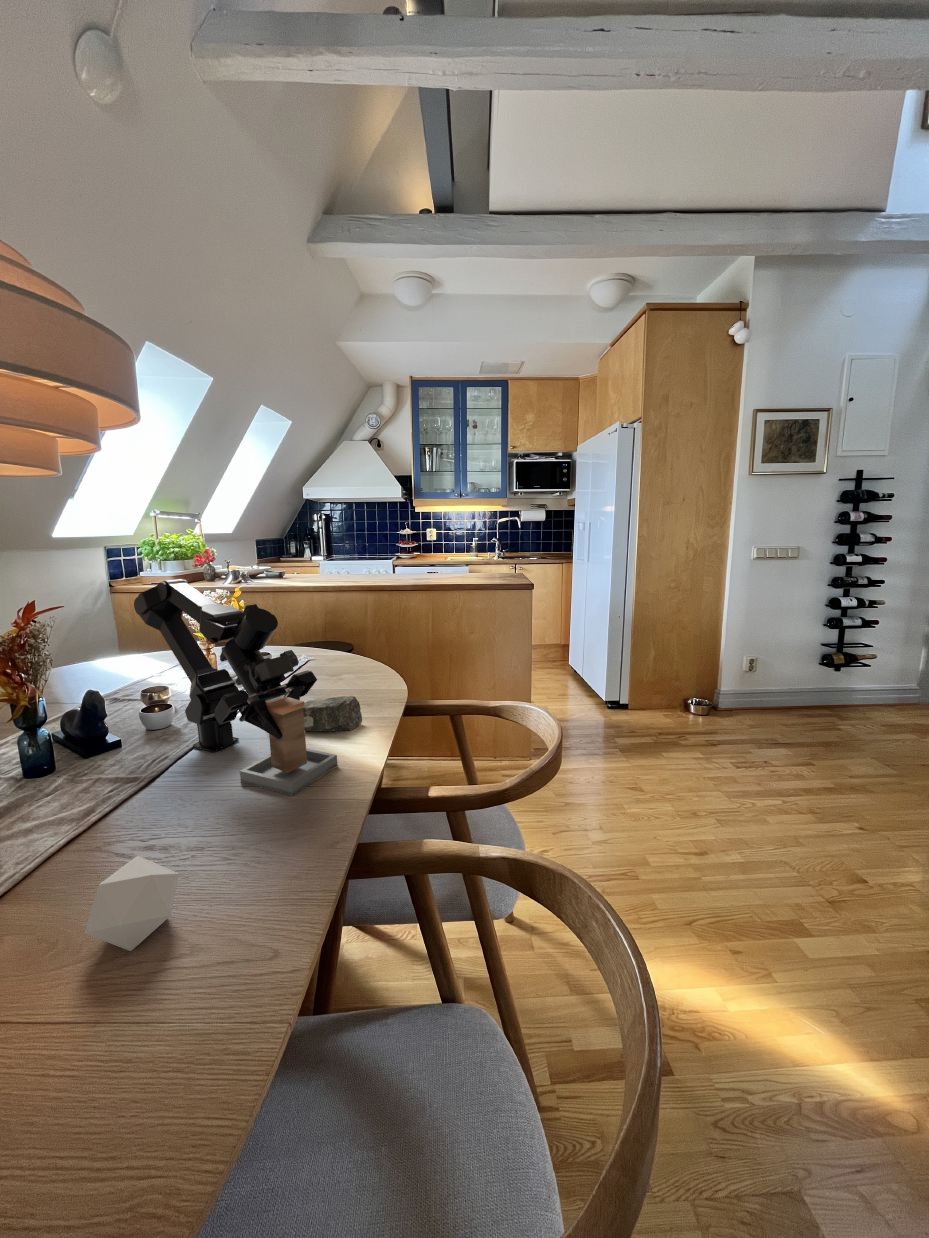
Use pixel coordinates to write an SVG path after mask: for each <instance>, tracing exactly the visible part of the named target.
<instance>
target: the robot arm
mask: <svg viewBox="0 0 929 1238" xmlns="http://www.w3.org/2000/svg"><path fill="white" fill-rule="evenodd" d="M133 607H134V611H135V613H136V614H137V615H138V616H139V617H140V618H141V620H142V621H143V622H144V624H145V625H147V626H148V627H150V628H153V629H155V630H158V631H159V632H160V634H161V636H162V637H163V639H164V640H165V642H166V643H167V645H168V647H169V648H170V650H171V652H172V654H173V655H174V657H175V658H176V660H177V661H178V663H179V665H180V667H181V668H182V669H183V672H184V673H185V675H186V676H187V678H188V680H189V681H190V688H189V698H190V701H189V702H188V704H187V706H186V708H185V709H184V713H185V717H186V720H187V721H188V722H190V723H193V724H196V727H197V735H198V742H196V743H194V744H192V748H194V749H198V750H203V751H207V752H210V753H211V752H212V753H215V752H218V751H219V750H222V749H224V748H226V747H228V746H230V745H232V744H234V743H237V742H239V740H240V739H239V737H235V736H234V735H233V734H234V733H233V726H232V725H233V724H232V722H233V721H235V720H236V719H237V716H238V712H239V713H240V718H239V719H238V721H239V722H241V723H242V722H247V723H248V724H251V725H253V726H255V727H257V728H259V729H260V730H262V731H264V732H266V733H267V734H268V735H269V734H271V735H272V736H274V737H276V738H277V739H280V738H281V737H282V733H281V731H280V729H279V727H278V726H277V724H276V723H275V721H274V719H273V718H272V716H271V715H270V713H269V711H268V710H267V706H266V701H267V700H270V699H273V698H276V697H280V698H281V699H282V698H285V697H290V698H293V699H297V700H301V697H304V696H306V695H307V694H308V693H309V691H310V690H311V689H312V688H313V687H314V685H315V684H316V682H317V681H318V678H317V676H316V675H315V674H314V673H313V671H311V670H304V671H301V672H298V673H294V674H292V676H291V677H290V679H288V681H287V683H282V684H283V685H281V684H280V683H281V682H284V680H285V679H286V676H285V675H287V674H289V673H292V672H294V671H295V670H294V668H296V667H297V666H298V665H299V663H300V662H299V660H298V656H297V655H296V653H295V652H294V651H293V650H292V649H289V650H285V651H283V652H282V653H279V656H277V657H274V658H270V657H266V658H265V657H264V656H263V654H262V652H261V651H260V650H262V649H264V648H265V647H266V645H267V644H268V643H269V641H270V639H271V637H272V636H273V634H274V633H275V631H276V630H277V628H278V626H279V625H278V624H279V622H278V621H279V620H278V619H277V617H276V616H275V614H273V613H272V612H270V611H269V610H266V609H264V608H260V607H259V606H258V605H257V604H256V603H253V604H246V605H245V607H244V609H243V611H242V610H240V609H238V608H236V607H234V606H231V605H224V604H219V603H216V602H215V601H213V600H211V599H210V598H209V597H207V596H206V595H205V594H203V593H202V592H200V591H199V590H197V589H196V588H194V587H193V586H191V585H190V583H189V581H188V580H187V579H183V578H176V579H167V580H163V581H160V582H159V583H157V584H156V585H155V586H153V587H151V588H149V589H146V590H144V591H142V592H140V593H139V594H138V596H137V597H136V598H135V599H134V600H133ZM183 613H184V614H186V615H188V616H189V617H190V618H191V619H193V620H194V621H195V622H197V624H199V628H198V629H199V630H198V631H199V633H201V635H202V636H203V637H204V638H205V639H206V640H207V641H208V642H209V643H212V644H216V643H222V642H226V641H227V642H226V643H225V645H224V646H222V647H221V652H220V655H219V661H220V662H223V663H224V662H226V661H227V663H228V664H229V665H230V668H231V669H232V670H233V672H234V674H235V675H236V677H237V678H236V679H235V680H233V678H232V677H231V675H230V672H229V671H228V670H227V669H226V668H222V669H219V670H217V669H216V668H214V667H213V665H212V664H211V662H210V660H209V659H208V658H207V656H206V654H205V653H204V652H203V650H202V648H201V647H200V645H199V643H198V642H197V640H196V639H195V637H194V635H193V634H192V632H191V630H190V629H189V628H188V626H187V624H186V623H185V621H184V620H183ZM238 686H242V687H243V688H244V690H242V689H240V690H239V688H238Z"/></svg>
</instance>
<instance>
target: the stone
mask: <svg viewBox="0 0 929 1238" xmlns="http://www.w3.org/2000/svg"><path fill="white" fill-rule="evenodd" d="M304 705H305V707H303V713H304V727H305V732H332V731H351V730H353V729H355V728H357V727H359V726H360V725H361V724H362V722H363V716H362V715H363V714H362V712H361V711H362V710H361V705H360V702H359V700H358V699H357V697H356V696H354V695H349V696H347V695H346V696H345V695H344V696H336V697H335V696H334V697H328V698H325V699H312V700H307V701H304Z"/></svg>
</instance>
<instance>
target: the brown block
mask: <svg viewBox="0 0 929 1238" xmlns="http://www.w3.org/2000/svg"><path fill="white" fill-rule="evenodd" d="M304 703H305V701H304V700H301V699H300V700H297V699H293V698H290V697H285V698H282V699H279V700H277V701H274V702H271V703H268V704H266V706H267V710H268V711H269V713H270V715H271V716H272V718H273V719H274V721H275V723H276V724H277V726H278V727H279V729H280V731H281V733H282V737H281V738H280V739H277V738H276V737H274V736H272V735H271V734H269V733H268V737H269V747H270V754H271V762H272V767H274V768H276V769H279V770H281V771H284V772H286V773H288V772H290V771H292V770H295V769H297V768H299V767H301V766H303V765H305V764H307V754H306V749H307V744H306V731H305V727H304V713H303V707H305V705H304Z"/></svg>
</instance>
